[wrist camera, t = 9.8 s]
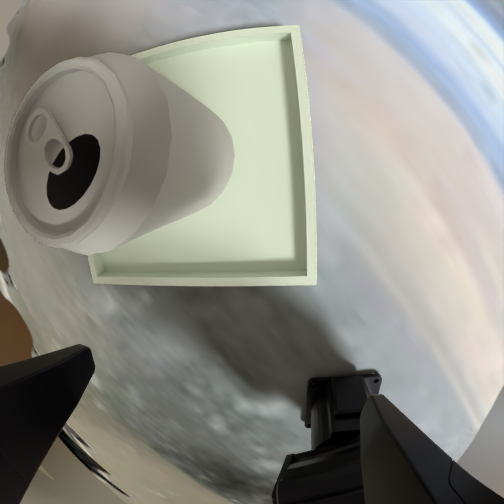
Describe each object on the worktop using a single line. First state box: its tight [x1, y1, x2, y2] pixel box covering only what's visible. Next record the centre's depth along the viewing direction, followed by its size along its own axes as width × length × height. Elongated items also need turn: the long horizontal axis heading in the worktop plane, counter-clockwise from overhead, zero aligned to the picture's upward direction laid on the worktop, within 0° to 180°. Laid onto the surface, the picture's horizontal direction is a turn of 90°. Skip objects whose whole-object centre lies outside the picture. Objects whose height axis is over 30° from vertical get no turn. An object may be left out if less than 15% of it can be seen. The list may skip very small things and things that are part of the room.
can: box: [4, 52, 235, 255], centre depth 12 cm, size 8×8×12 cm
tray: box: [87, 25, 317, 286], centre depth 18 cm, size 17×17×2 cm
